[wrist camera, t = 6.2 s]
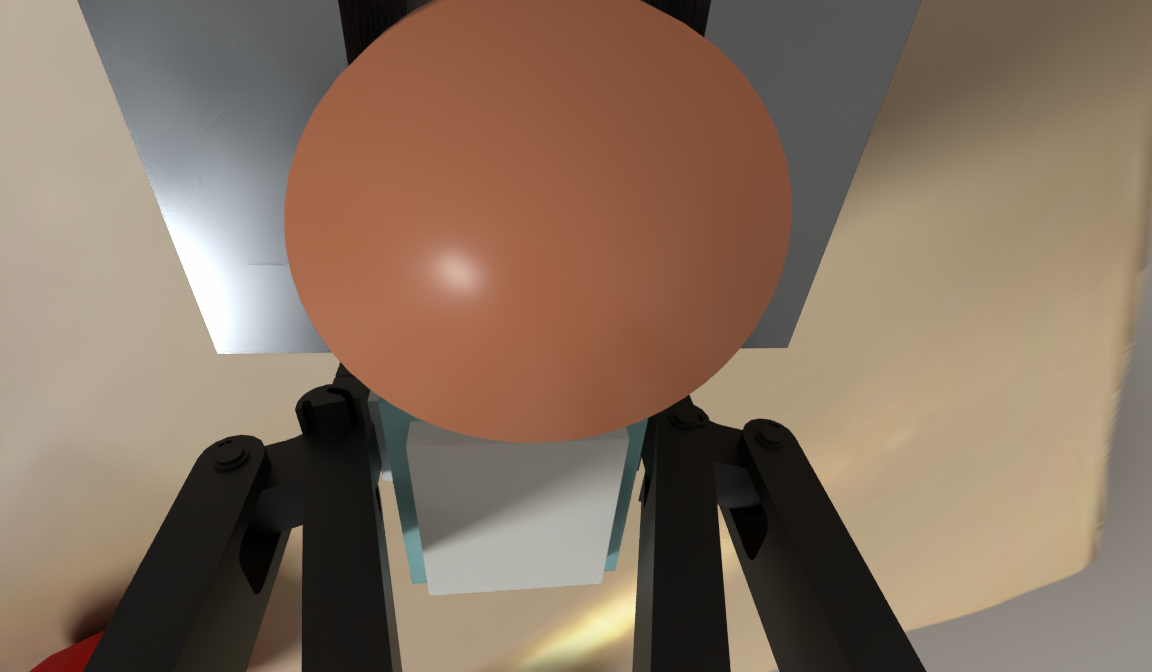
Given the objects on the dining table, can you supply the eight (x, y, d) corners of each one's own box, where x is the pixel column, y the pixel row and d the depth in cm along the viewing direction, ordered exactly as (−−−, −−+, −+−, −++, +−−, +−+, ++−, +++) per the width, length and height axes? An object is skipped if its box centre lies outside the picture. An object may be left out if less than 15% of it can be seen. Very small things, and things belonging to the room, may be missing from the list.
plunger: (416, 190, 9) (337, 449, 5) (390, -64, 7) (205, -46, 3) (619, 196, 9) (724, 437, 5) (650, -41, 7) (870, 10, 3)
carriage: (441, 355, 20) (409, 608, 13) (428, 202, 17) (372, 427, 9) (576, 354, 21) (619, 593, 13) (590, 206, 17) (660, 419, 10)
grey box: (356, 141, 16) (217, 353, 8) (303, -185, 12) (-81, -401, 4) (666, 153, 17) (809, 347, 9) (717, -137, 13) (1049, -229, 5)
